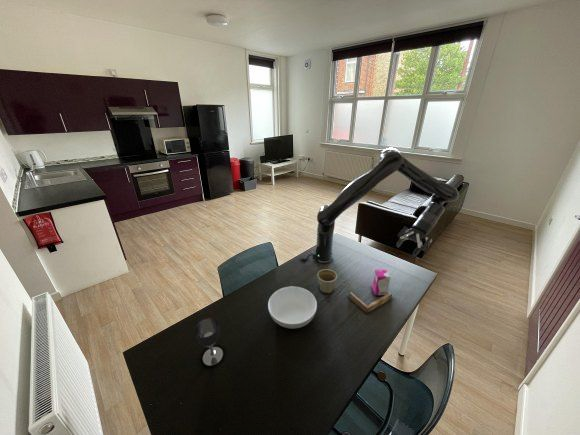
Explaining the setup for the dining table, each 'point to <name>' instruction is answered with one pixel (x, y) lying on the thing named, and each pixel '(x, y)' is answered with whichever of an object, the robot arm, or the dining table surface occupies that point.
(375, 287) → the supplement box
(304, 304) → the serving bowl
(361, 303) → the corner fence
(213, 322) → the wine glass
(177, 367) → the dining table surface
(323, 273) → the flower pot
